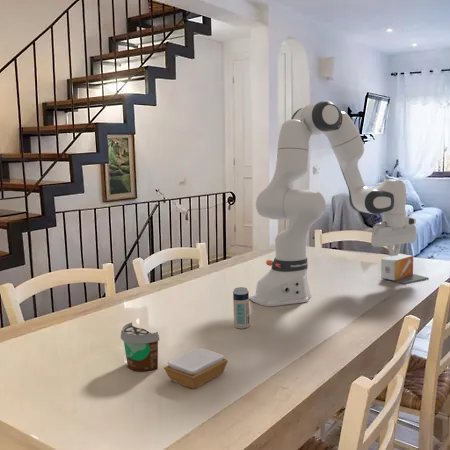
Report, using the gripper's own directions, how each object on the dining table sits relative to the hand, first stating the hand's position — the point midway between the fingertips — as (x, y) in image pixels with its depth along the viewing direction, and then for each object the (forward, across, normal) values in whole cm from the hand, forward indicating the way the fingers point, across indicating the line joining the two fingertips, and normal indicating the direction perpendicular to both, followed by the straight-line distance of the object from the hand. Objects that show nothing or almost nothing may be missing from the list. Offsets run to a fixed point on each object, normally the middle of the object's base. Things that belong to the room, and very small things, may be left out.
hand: (393, 255), depth 202 cm
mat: (+10, +6, 0) cm, 12 cm away
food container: (+11, -113, -26) cm, 116 cm away
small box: (+6, -2, +1) cm, 6 cm away
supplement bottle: (+10, -76, -14) cm, 78 cm away
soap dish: (+11, -102, -39) cm, 109 cm away
